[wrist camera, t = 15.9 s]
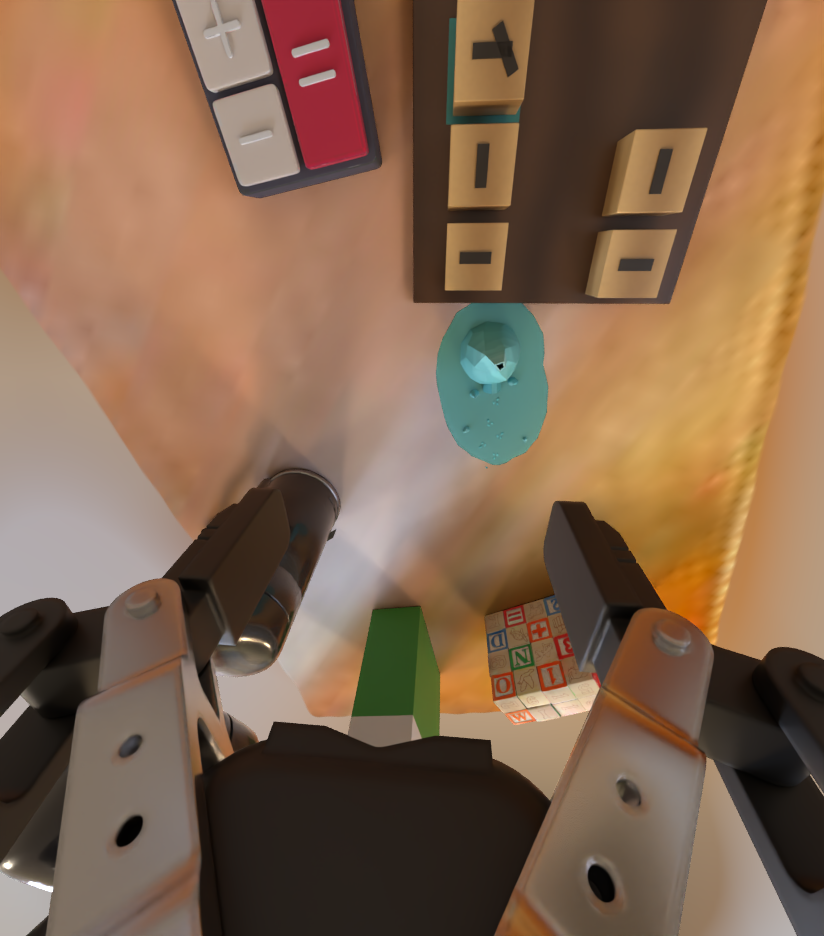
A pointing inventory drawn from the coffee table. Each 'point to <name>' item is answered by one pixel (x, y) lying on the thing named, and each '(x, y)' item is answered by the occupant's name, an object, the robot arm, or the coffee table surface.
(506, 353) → the diorama
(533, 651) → the stack of blocks
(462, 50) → the tan cross-marked cube
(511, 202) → the letter board
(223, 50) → the calculator
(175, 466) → the coffee table surface
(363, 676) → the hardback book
